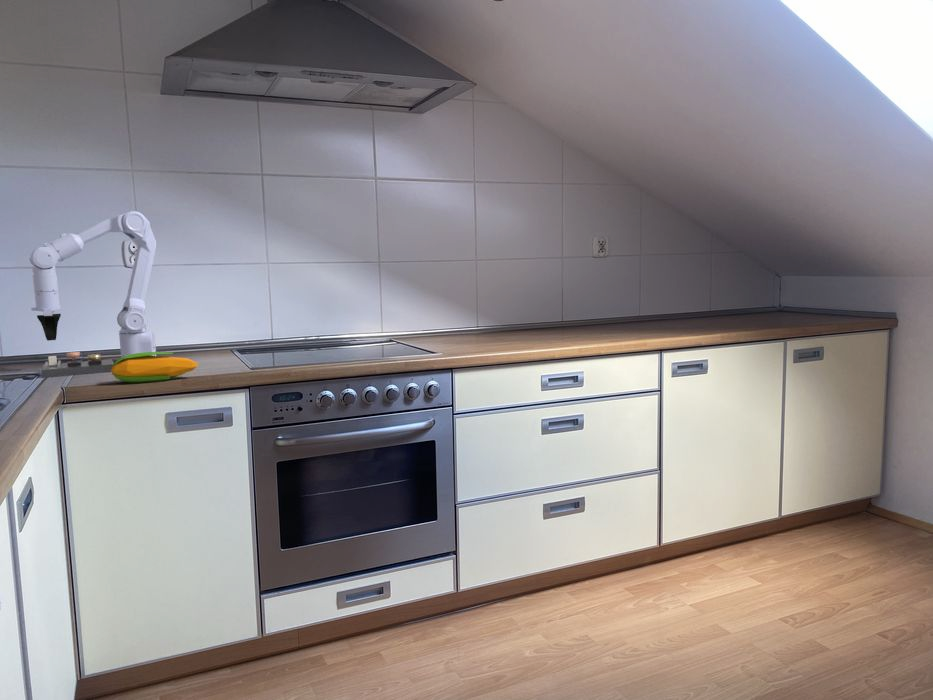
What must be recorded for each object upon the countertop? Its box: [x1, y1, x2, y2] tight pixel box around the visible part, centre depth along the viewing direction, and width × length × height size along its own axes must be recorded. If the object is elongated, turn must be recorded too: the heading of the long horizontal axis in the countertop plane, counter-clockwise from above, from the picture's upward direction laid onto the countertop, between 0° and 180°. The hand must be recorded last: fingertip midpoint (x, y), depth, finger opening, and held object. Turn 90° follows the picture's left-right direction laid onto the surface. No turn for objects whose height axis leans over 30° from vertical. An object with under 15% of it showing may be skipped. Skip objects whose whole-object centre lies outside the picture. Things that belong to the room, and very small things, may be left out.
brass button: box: [87, 353, 102, 361], centre depth 192 cm, size 3×3×2 cm
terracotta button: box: [65, 351, 81, 361], centre depth 189 cm, size 3×3×2 cm
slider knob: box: [48, 355, 58, 365], centre depth 189 cm, size 2×2×2 cm
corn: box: [110, 351, 199, 384], centre depth 174 cm, size 7×8×20 cm
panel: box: [41, 358, 115, 379], centre depth 190 cm, size 17×11×3 cm, turn 119°
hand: (51, 340), depth 193 cm, fingers closed
